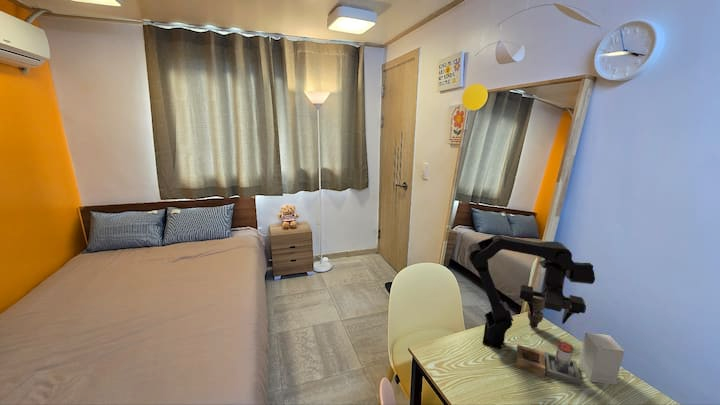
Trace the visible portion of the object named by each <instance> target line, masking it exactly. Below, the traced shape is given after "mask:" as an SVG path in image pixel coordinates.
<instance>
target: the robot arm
mask: <svg viewBox="0 0 720 405" xmlns="http://www.w3.org/2000/svg"><path fill="white" fill-rule="evenodd" d="M502 250H505V251H510V252H515V253H520V254H525V255H530V256H535V257H539V258H541V259H543V260H540V261H539V262H538V263H539V264H540V266H541V267H542V268H543V269H544V270H545V271H544V277H543V281H542V288H541V291H540V292H539V291H535V290H534V286H530V285H525V284H521V285H520V286H519V299H521V300H523V301H524V302H525V303H527V305H528V307H529V309H530V313H531V316H533V297H537V298H542V299H544V307H545V309H546V310H552V311H556V312H558V313H559V312H562V310H564V311H563V314H562V318H561V324H562V325H564V324H565V323H566V322H567V321H568V319H569V318H570V317H571V316H573V315H574V314H577V315H578V314H586V310H587V305H586V302H585V299H584V298H583V297H581V296H577V295H571V294H569V296H568V297H567V296H565V295H564V285H565V279H568V281H569V282H571V283H577V284H587V285H593V284H594V283H595V281H596V276H595V270H594V265H593V264H592V263H591V262H578V261H576V262H575V261H574V260H573V253H572V252H571V251H570V249H568V248H567V247H566V246H565V245H564V244H563V243H562V242H559V241H542V242H539V241H538V242H537V241H532V240H525V239H522V238H521V239H520V238H515V237H510V236H504V235H502V234H495V235H493V236H491V237H489V238H486V239H483V240H480V241H479V242H476V243H472V244H470V245H469V246H468V247H467V254H468V258H469V262H470V263H471V265H472V266H473V268H474V269H475V271H476V272H477V273H478V276H479V278H480V281H481V283H482V285H483V289H484V291H485V293H486V296H487V299H488V302H489V306H490V311H488V312H487V313H485V314H484V317H485V321H486V322H485V323H484V329H483V330H484V331H483V338H482V344H483V345H486V346H489V347H492V348H495V349H498V350H502V349H503V346H505V344H504V343H505V337H506V336H505V335H506V333H507V331H508V330H509V329H511V327H512V326H513V321H514V318H513V316H512V313H511V311H510V308H509V305H508V303H507V301H502V300H501V298H500V296H499V293H498V291H497V288H496V285H495V283H494V280H493V278H492V274H491V273H490V270H489V260H490V259H491V258H493V257H494V256H495V255H497V253H499V252H501V251H502Z"/></svg>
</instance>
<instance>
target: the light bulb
mask: <svg viewBox="0 0 720 405" xmlns="http://www.w3.org/2000/svg"><path fill="white" fill-rule="evenodd" d="M545 309H546V308H545V307H544V299H542V298H537V297H533V316H531V313H530V308H529V309H528V311H527V318H528V320H529V326H530V327H531V328H532V329H534V328H535V329H536V328H538V326H539V324H540V323H541V322H542V321H543V319H544V312H543V311H544V310H545Z"/></svg>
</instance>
